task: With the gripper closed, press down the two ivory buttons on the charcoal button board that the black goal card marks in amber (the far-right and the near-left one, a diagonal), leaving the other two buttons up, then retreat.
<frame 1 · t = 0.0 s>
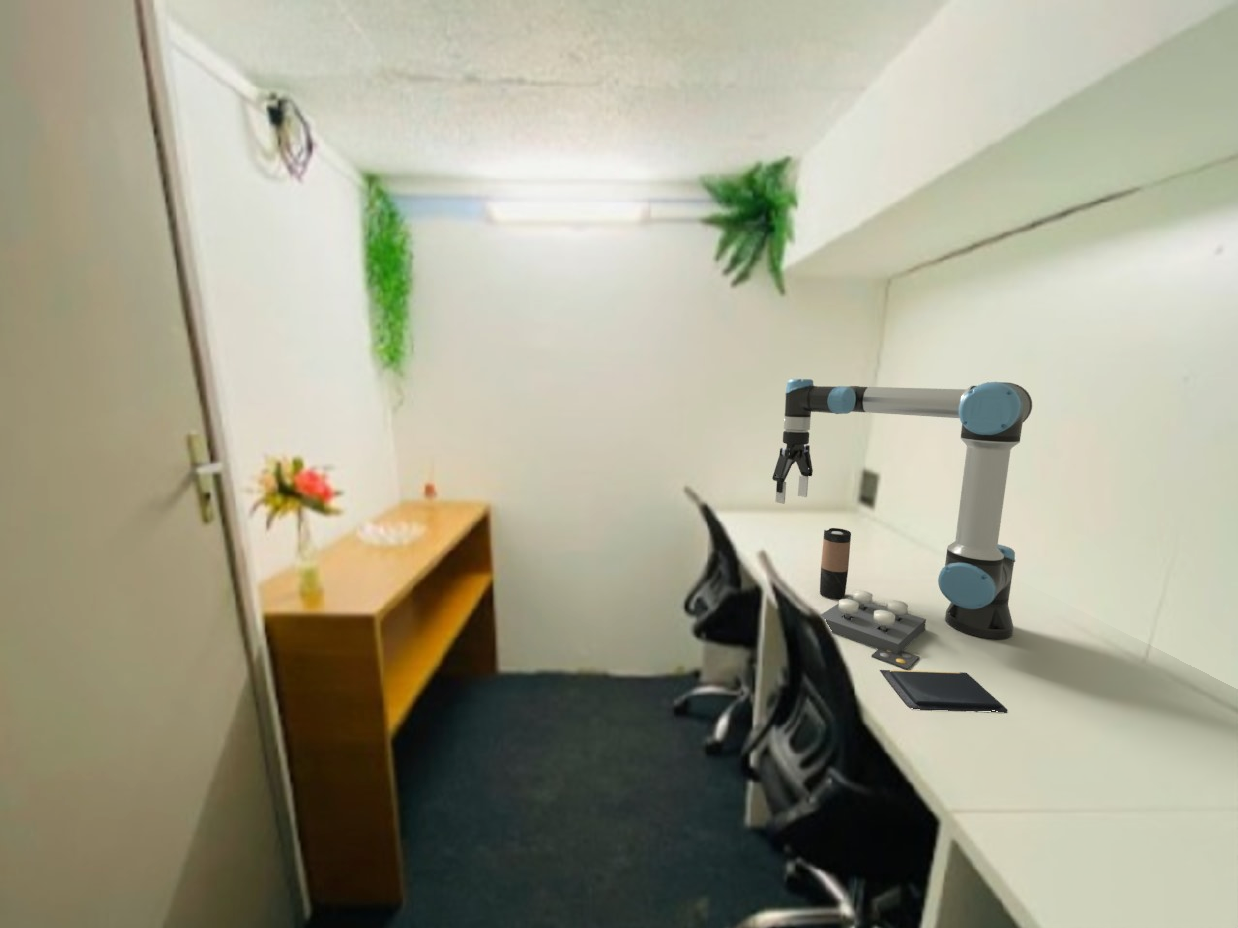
hand: (791, 499, 166), 28 cm above the table, fingers open, 13 cm apart
button 4: (848, 611, 142), point 5 cm above the table, slide at 0.0 cm
button board: (870, 628, 143), on the table
travel mug: (832, 595, 165), on the table
goal card: (895, 657, 128), on the table
button 3: (862, 601, 148), point 5 cm above the table, slide at 0.0 cm
button 2: (883, 622, 136), point 5 cm above the table, slide at 0.0 cm
button 1: (896, 612, 142), point 5 cm above the table, slide at 0.0 cm
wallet: (940, 693, 115), on the table
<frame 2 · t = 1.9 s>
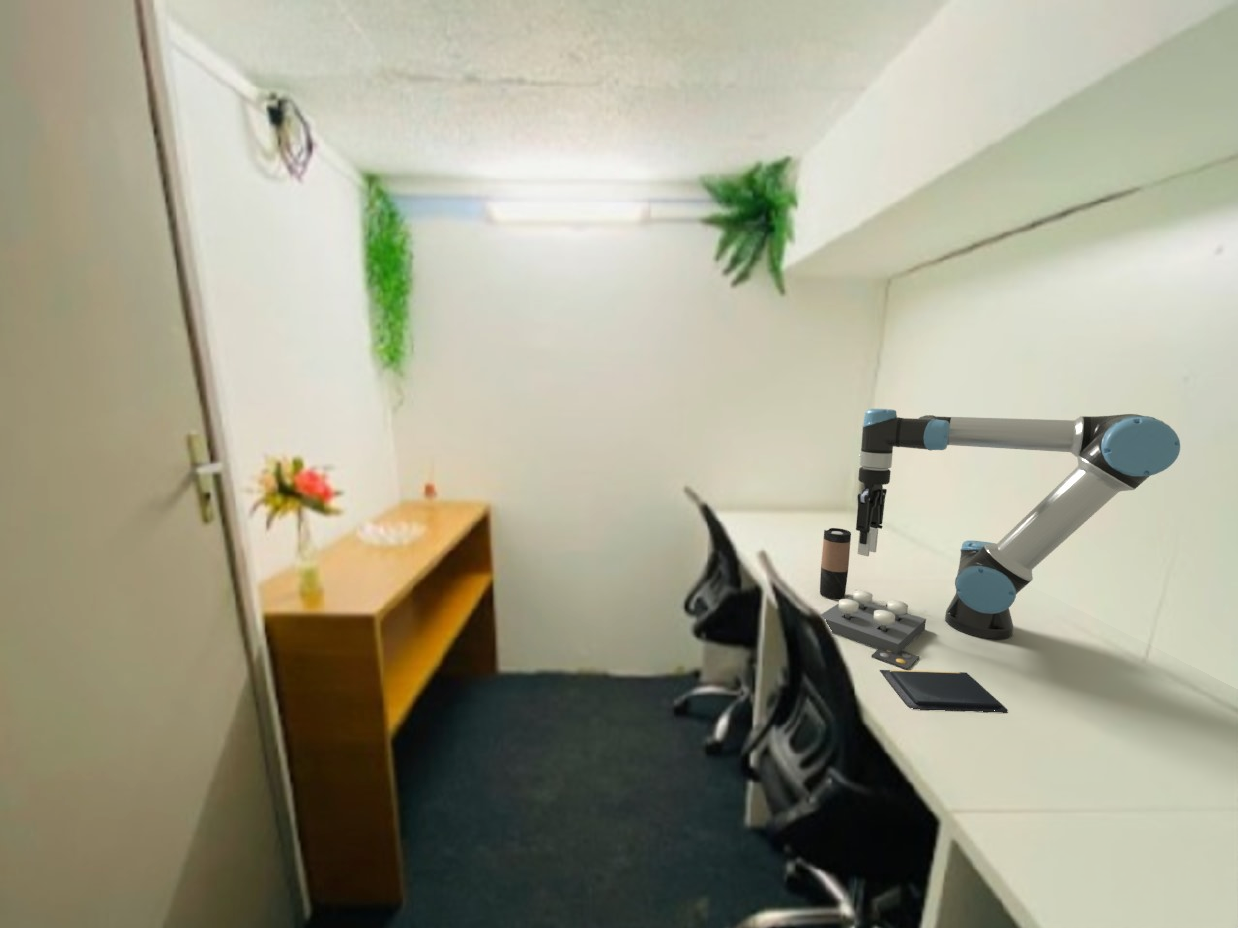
hand: (866, 552, 146), 19 cm above the table, fingers open, 4 cm apart
nothing on the table moved.
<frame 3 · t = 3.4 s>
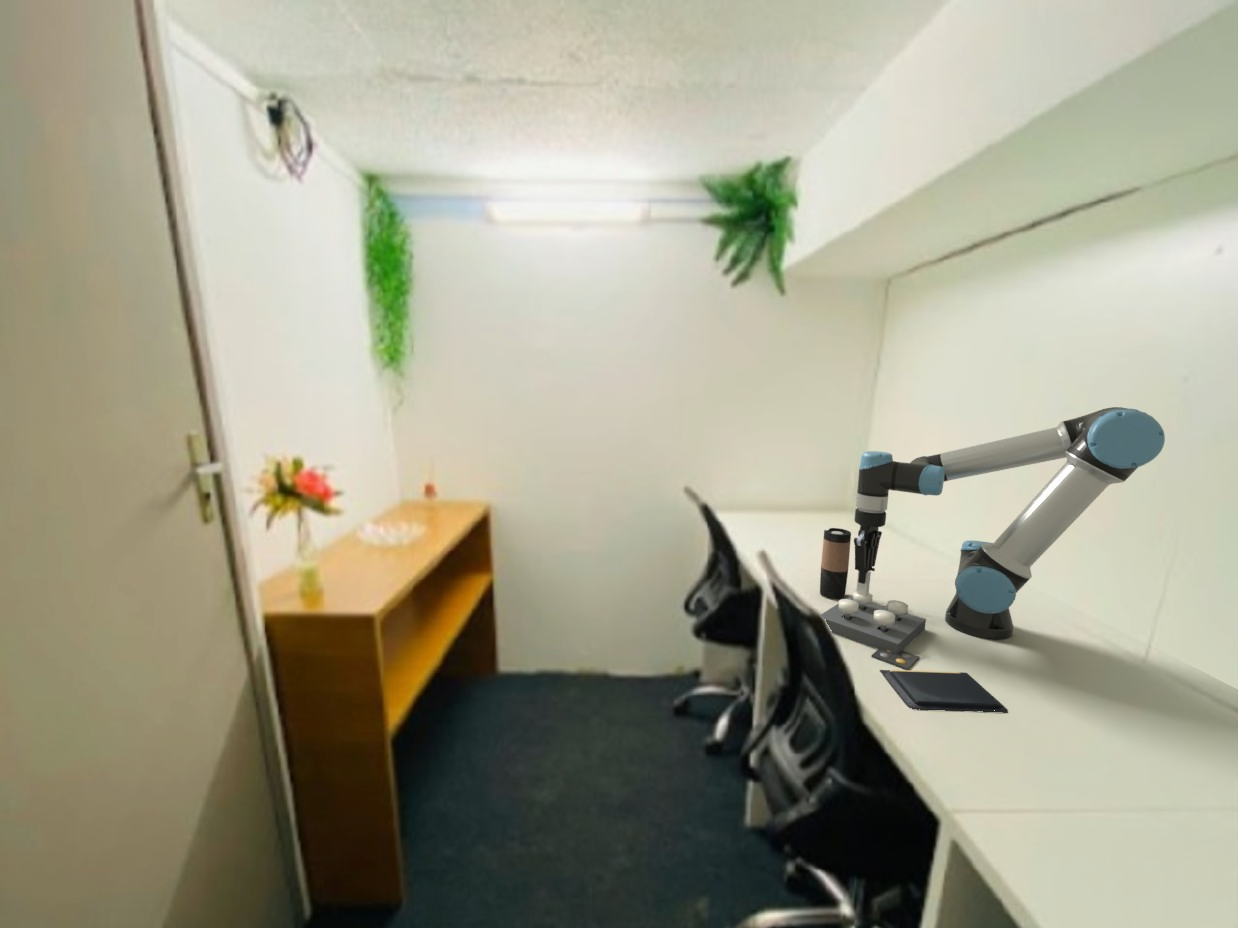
hand: (862, 593, 148), 7 cm above the table, fingers closed
button 3: (862, 602, 148), point 4 cm above the table, slide at -0.2 cm, touching gripper
everything else where it was.
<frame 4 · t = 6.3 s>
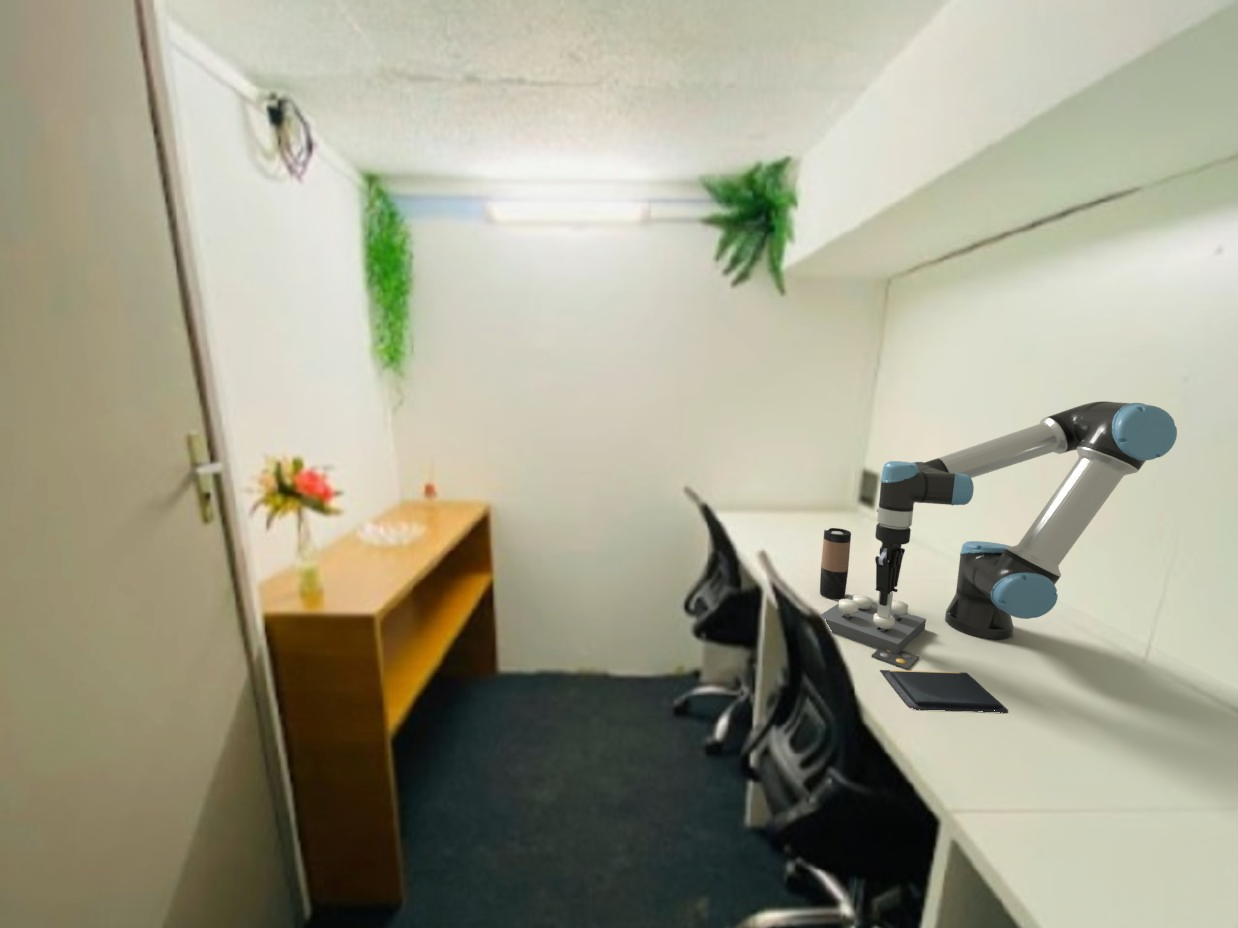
hand: (883, 615, 136), 6 cm above the table, fingers closed
button 3: (861, 606, 149), point 3 cm above the table, slide at -1.4 cm
button 2: (883, 625, 136), point 4 cm above the table, slide at -0.8 cm, touching gripper
everything else where it was.
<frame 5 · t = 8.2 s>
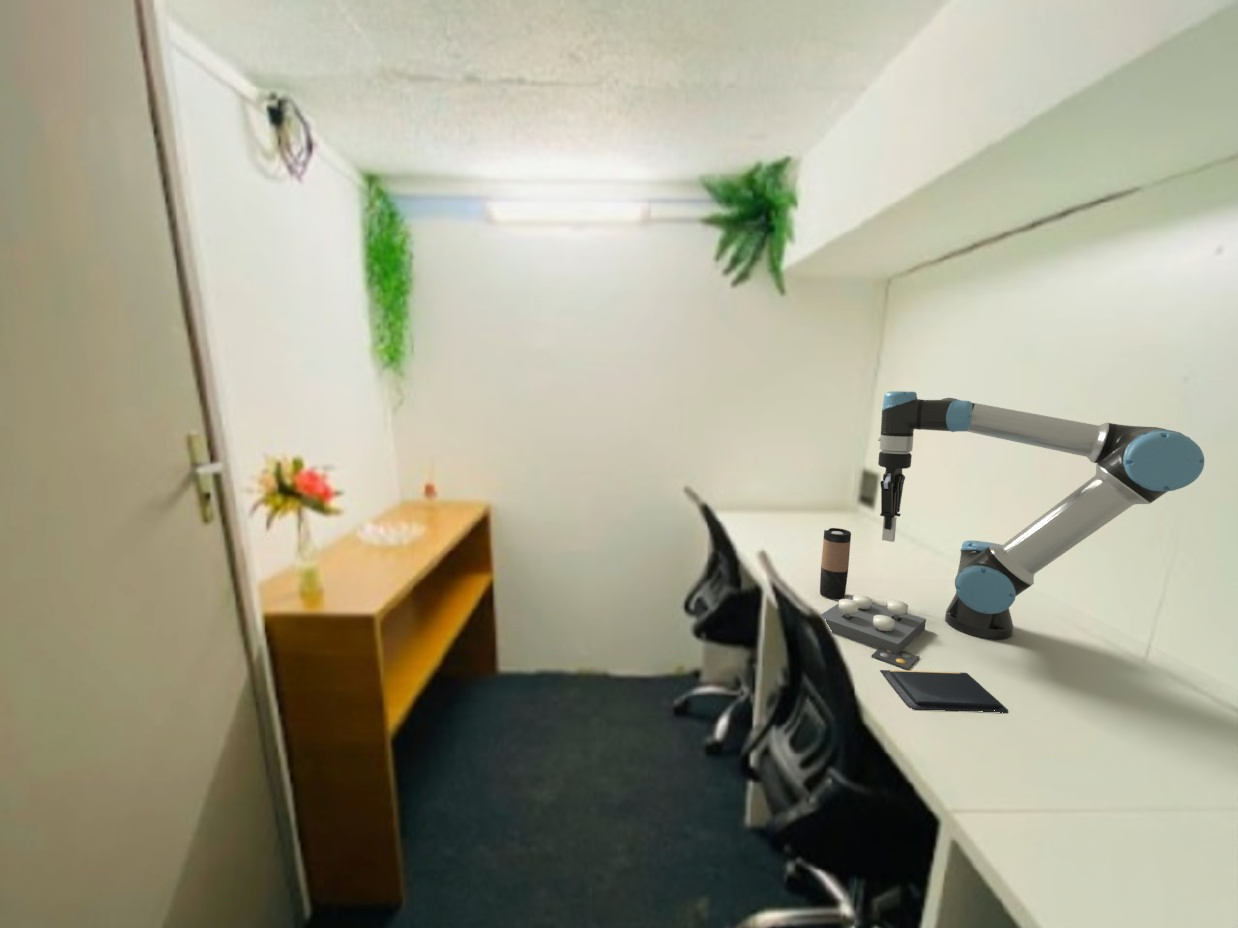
hand: (888, 540, 143), 23 cm above the table, fingers closed
button 2: (883, 628, 136), point 3 cm above the table, slide at -1.4 cm
everything else where it was.
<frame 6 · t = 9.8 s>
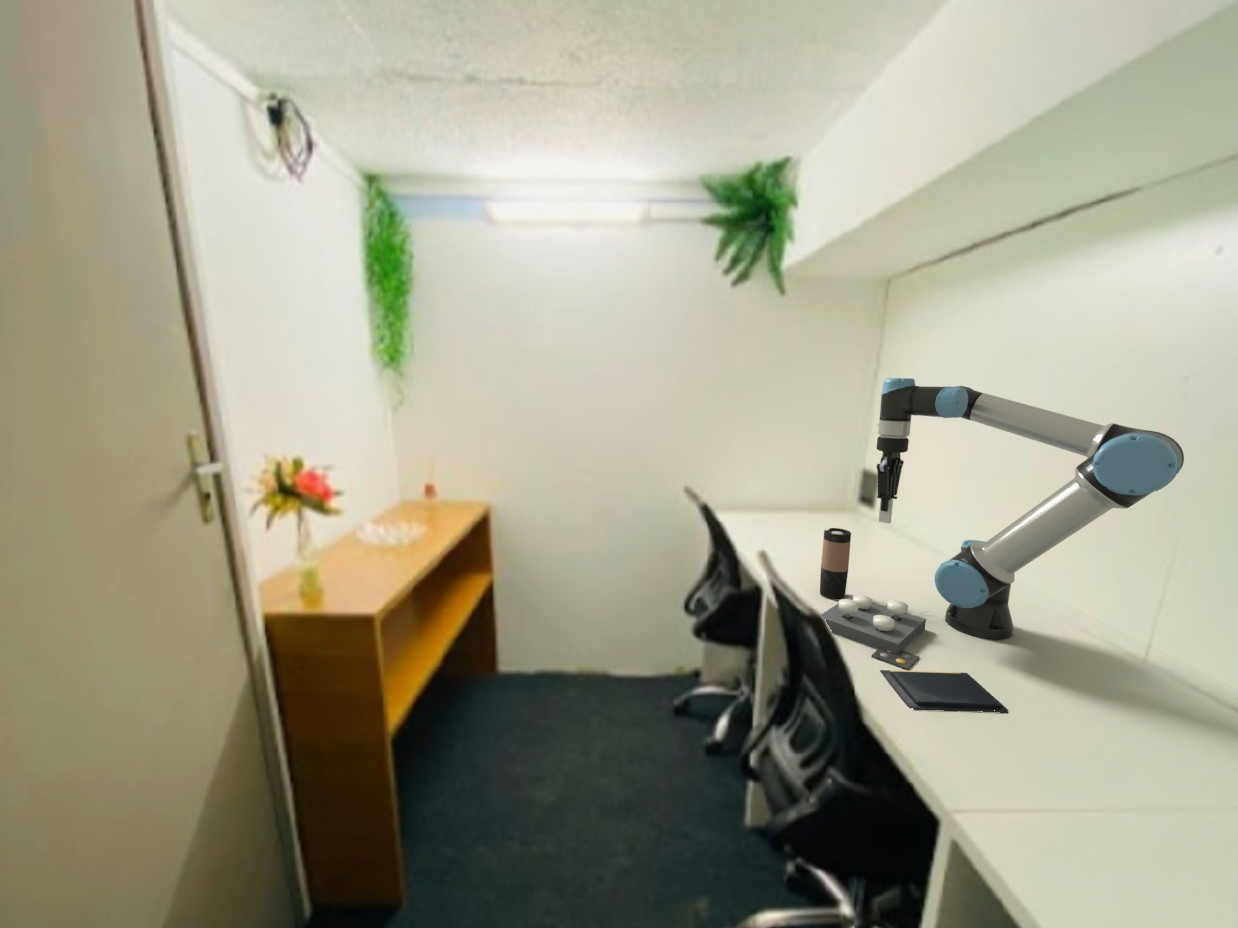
hand: (884, 521, 148), 26 cm above the table, fingers closed
nothing on the table moved.
at the end: button 3 slide at -1.4 cm; button 2 slide at -1.4 cm; button 4 slide at 0.0 cm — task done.
